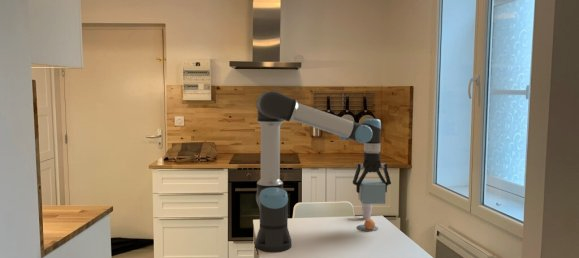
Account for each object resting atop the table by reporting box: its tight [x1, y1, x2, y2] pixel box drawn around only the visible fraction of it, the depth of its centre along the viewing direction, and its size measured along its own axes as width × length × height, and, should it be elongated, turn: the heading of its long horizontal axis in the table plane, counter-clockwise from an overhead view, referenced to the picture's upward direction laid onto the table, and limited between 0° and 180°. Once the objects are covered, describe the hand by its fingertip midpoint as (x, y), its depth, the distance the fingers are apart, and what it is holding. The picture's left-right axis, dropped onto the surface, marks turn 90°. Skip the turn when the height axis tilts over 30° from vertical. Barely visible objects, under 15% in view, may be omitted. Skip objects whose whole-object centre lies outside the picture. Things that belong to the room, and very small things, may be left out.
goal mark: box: [356, 224, 379, 232], centre depth 197 cm, size 10×10×1 cm
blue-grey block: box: [358, 179, 387, 205], centre depth 192 cm, size 10×10×9 cm
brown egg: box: [363, 218, 376, 230], centre depth 195 cm, size 5×5×5 cm
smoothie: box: [360, 201, 373, 221], centre depth 213 cm, size 6×6×14 cm
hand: (371, 199), depth 192 cm, fingers closed on blue-grey block, 10 cm apart
